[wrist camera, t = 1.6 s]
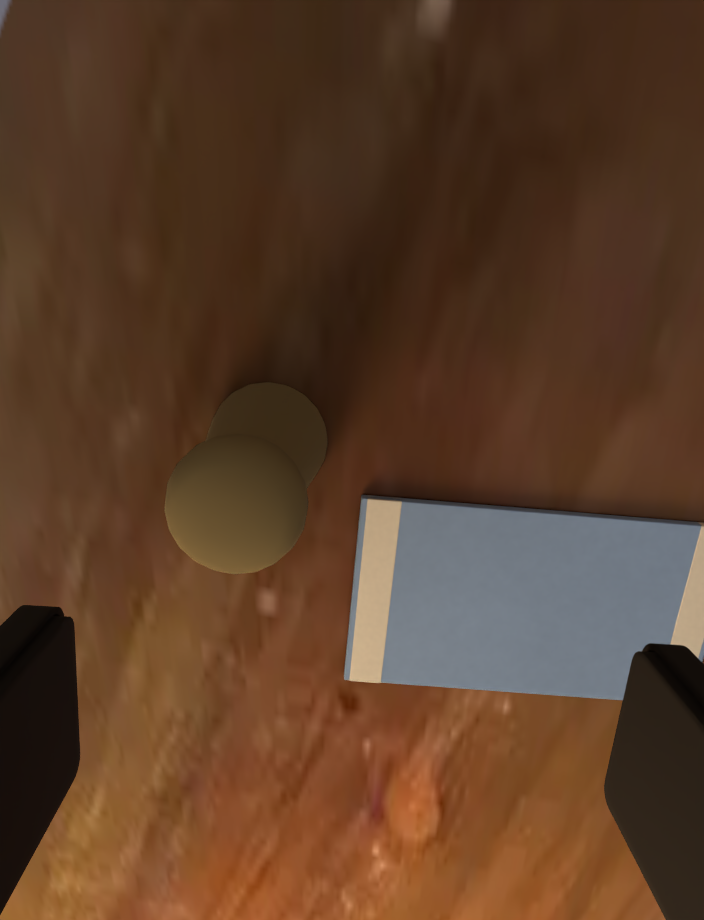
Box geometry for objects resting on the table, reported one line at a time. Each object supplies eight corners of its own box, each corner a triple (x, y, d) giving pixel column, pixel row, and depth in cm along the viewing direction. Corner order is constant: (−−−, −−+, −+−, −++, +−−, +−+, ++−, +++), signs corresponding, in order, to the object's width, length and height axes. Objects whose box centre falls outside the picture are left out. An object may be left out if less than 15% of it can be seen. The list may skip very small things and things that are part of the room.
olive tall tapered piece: (329, 384, 31) (318, 439, 20) (326, 498, 33) (315, 603, 22) (208, 379, 31) (135, 432, 20) (211, 494, 33) (145, 597, 22)
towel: (361, 494, 33) (361, 498, 32) (733, 524, 33) (741, 529, 33) (344, 673, 36) (343, 680, 35) (684, 699, 36) (690, 706, 36)
